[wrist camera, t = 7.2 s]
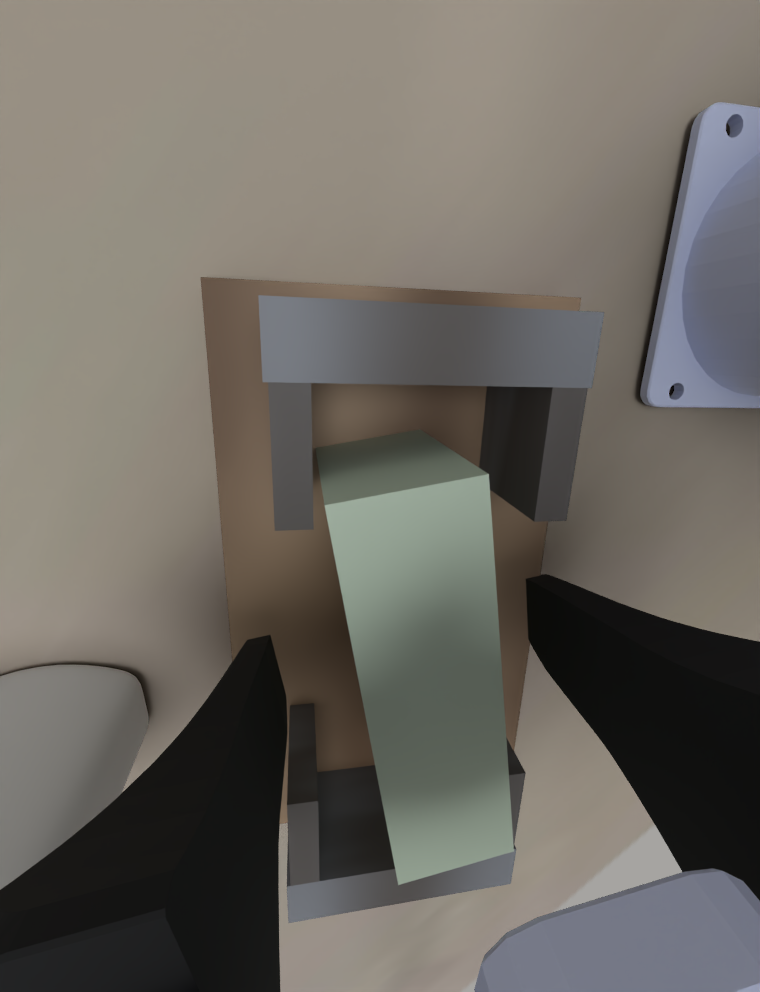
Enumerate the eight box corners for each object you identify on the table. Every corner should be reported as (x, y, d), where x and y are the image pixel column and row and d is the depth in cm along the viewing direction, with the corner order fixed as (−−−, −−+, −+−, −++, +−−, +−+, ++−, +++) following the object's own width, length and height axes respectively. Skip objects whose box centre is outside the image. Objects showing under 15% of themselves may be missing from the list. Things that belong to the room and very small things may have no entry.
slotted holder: (561, 301, 13) (681, 278, 9) (497, 769, 19) (554, 890, 15) (208, 283, 12) (157, 244, 8) (249, 802, 17) (232, 949, 13)
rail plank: (420, 429, 13) (488, 474, 8) (451, 705, 16) (513, 851, 11) (315, 447, 13) (324, 505, 8) (369, 726, 16) (398, 885, 11)
